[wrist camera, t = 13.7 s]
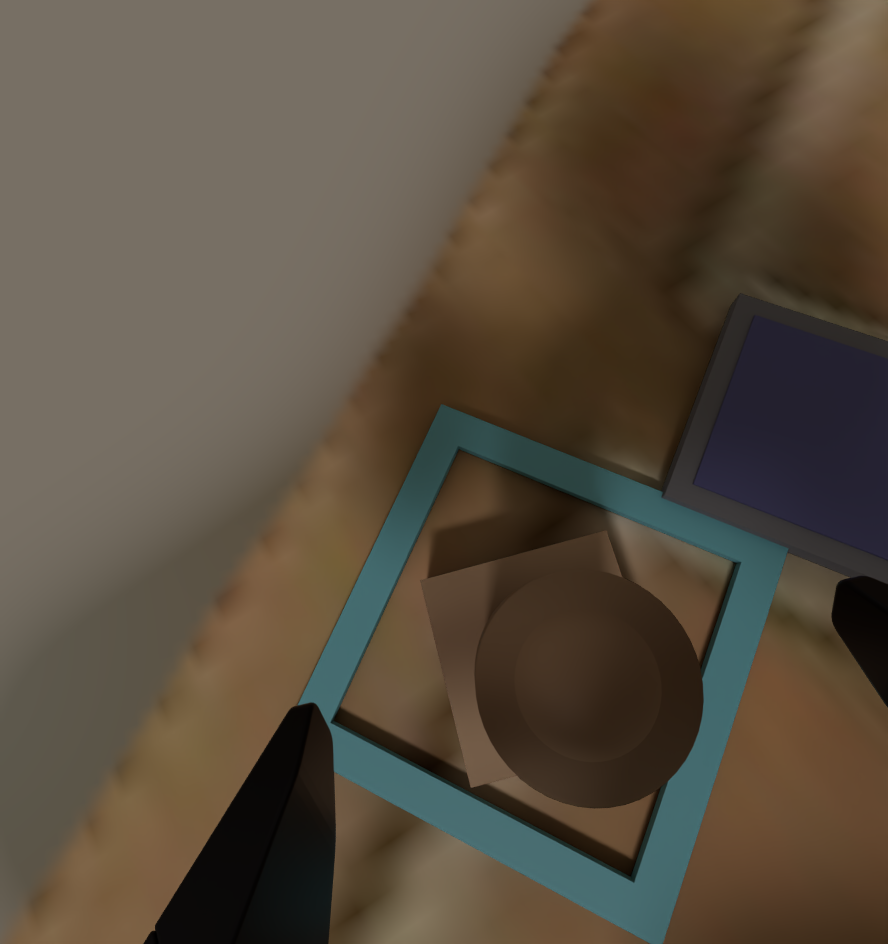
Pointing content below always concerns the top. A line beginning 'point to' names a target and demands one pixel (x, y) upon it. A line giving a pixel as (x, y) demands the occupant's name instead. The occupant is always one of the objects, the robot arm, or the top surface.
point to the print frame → (476, 820)
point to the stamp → (565, 674)
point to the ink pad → (792, 438)
